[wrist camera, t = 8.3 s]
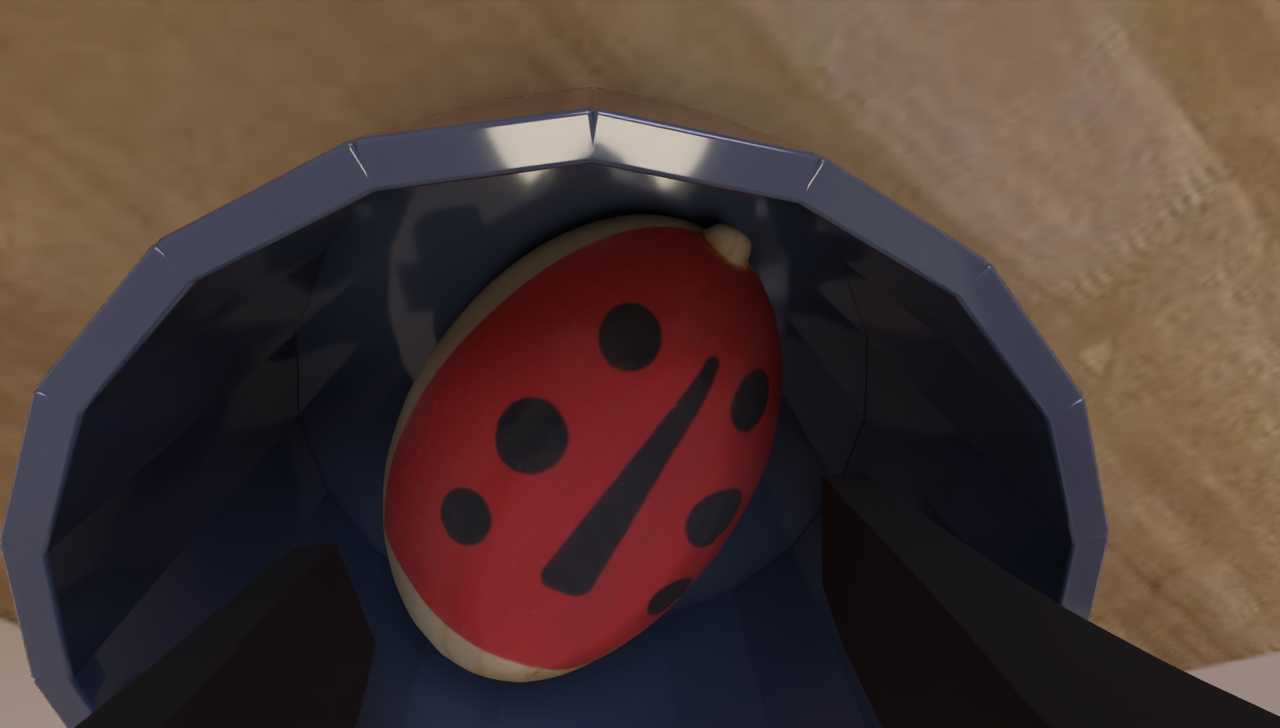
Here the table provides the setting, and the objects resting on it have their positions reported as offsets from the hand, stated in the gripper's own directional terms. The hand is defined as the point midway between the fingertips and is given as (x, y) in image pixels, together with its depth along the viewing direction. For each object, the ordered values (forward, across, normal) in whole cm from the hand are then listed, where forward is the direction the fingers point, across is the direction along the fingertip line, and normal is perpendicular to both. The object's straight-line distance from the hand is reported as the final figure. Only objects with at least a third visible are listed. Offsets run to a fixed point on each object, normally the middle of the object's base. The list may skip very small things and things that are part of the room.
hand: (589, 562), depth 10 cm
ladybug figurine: (+4, 0, 0) cm, 4 cm away
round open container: (+5, 0, 0) cm, 5 cm away
